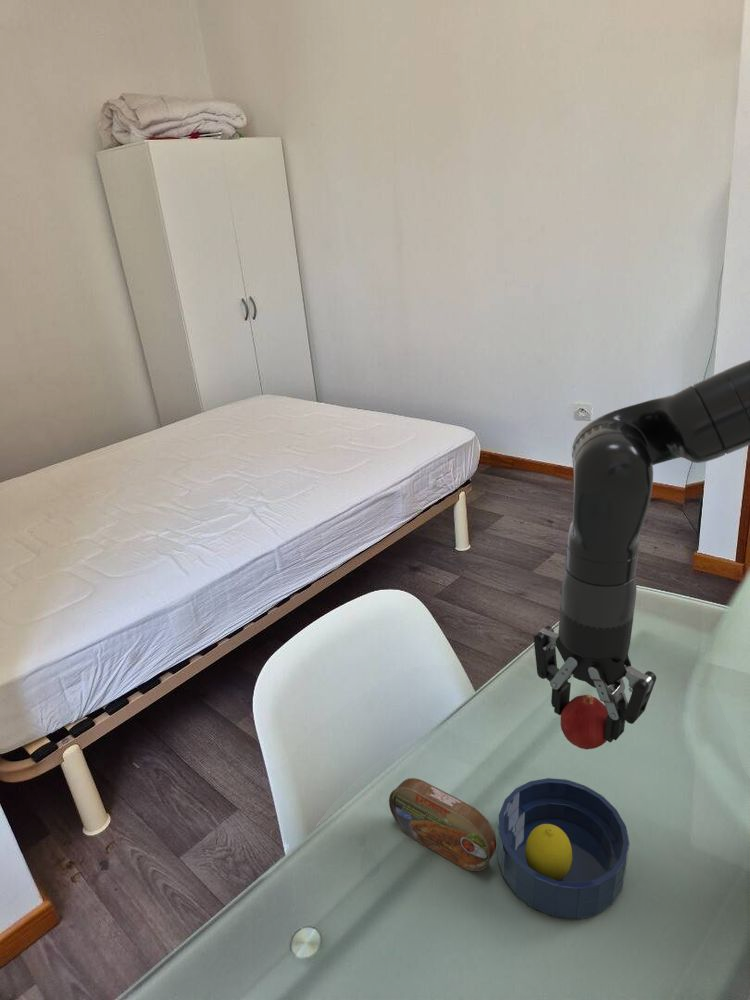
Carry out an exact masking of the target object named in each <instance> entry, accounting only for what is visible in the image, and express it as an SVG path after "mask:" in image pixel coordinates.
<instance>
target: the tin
mask: <svg viewBox="0 0 750 1000" xmlns="http://www.w3.org/2000/svg"><path fill="white" fill-rule="evenodd" d="M388 804H389V809H390V813H391V814H392V817H393V819H394V820H395V822H396V824H397V826H398V827H399V828H400V829H401V830H402V831H403V832H404V833H405V834H406V835H407V836H409V837H410V838H411V839H412V840H414V841H416V842H417V843H419V844H421V845H423V846H425V847H426V848H428V849H430V850H431V851H433V852H435V853H436V854H438V855H440V856H441V857H443V858H445V859H446V860H448V861H450V862H452V863H453V864H455V865H457V866H459V867H460V868H462V869H464V870H467V871H471V872H472V871H473V872H479V871H483V870H484V869H486V868H487V867H488V865H489V862H490V861H491V860H492V858H493V857H494V854H495V853H496V850H497V838H496V833H495V829H494V828H493V826H492V824H491V823H490V821H489V820H488V819H487V818H486V817H485V815H484V814H482V812H480V811H479V810H478V809H477V808H475V806H472V805H470V804H469V803H467V802H465V801H463V800H461V799H459V798H457V797H455V796H454V795H452V794H449V793H448V792H446V791H444V790H442V789H440V788H438V787H436V786H434V785H432V784H431V783H429V782H426V781H425V780H422V779H420V778H415V777H412V778H411V777H410V778H406V779H404V780H403V781H402V782H401V783H400V784H399V785H397V787H396V788H394V789H393V790H392V791H391V792H390V794H389V798H388Z"/></svg>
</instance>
